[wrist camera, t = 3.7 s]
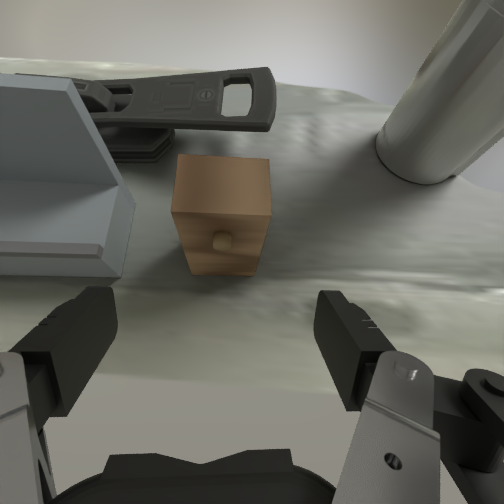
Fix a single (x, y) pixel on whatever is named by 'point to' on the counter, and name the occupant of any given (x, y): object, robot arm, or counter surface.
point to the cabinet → (222, 212)
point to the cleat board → (57, 185)
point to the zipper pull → (170, 109)
